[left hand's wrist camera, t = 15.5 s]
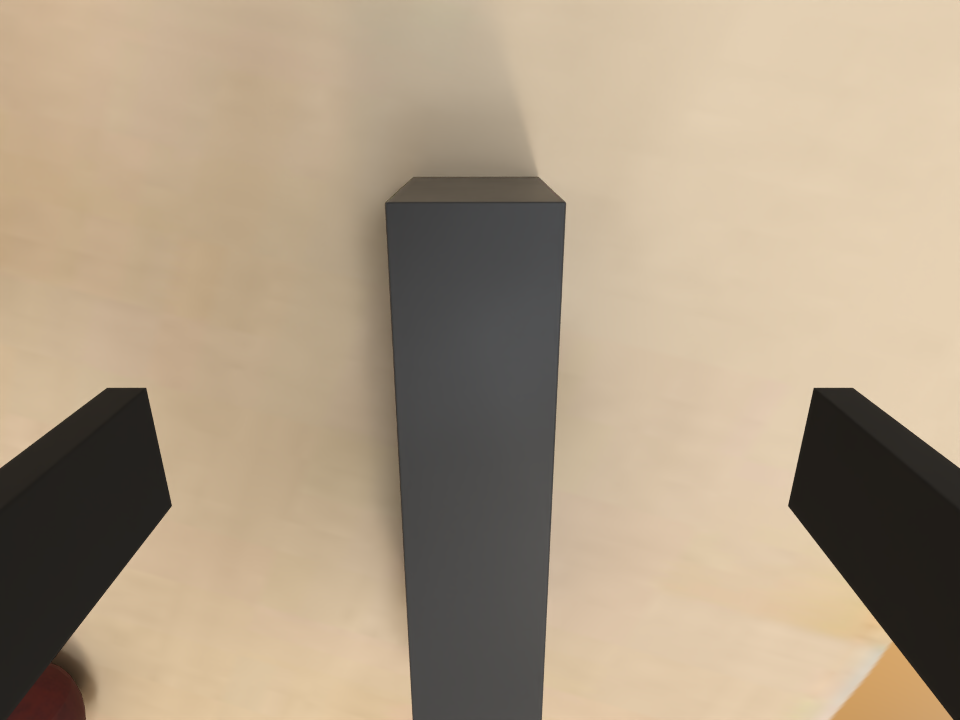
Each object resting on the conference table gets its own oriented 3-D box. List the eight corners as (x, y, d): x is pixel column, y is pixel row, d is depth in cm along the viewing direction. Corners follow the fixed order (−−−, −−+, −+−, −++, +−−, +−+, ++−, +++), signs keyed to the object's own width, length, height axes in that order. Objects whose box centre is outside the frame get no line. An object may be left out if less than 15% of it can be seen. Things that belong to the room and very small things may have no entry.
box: (412, 176, 28) (384, 201, 20) (539, 176, 29) (566, 201, 20) (429, 611, 37) (414, 760, 29) (525, 611, 37) (540, 759, 29)
